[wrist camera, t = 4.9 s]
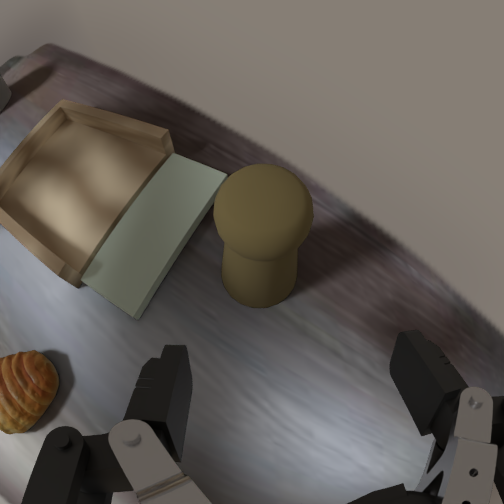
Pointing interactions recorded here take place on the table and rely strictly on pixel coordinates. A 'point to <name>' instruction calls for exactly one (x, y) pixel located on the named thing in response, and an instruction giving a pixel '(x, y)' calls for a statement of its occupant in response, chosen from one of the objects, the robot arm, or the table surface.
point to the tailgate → (153, 233)
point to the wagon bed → (77, 182)
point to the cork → (262, 232)
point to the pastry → (25, 390)
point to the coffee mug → (4, 93)
